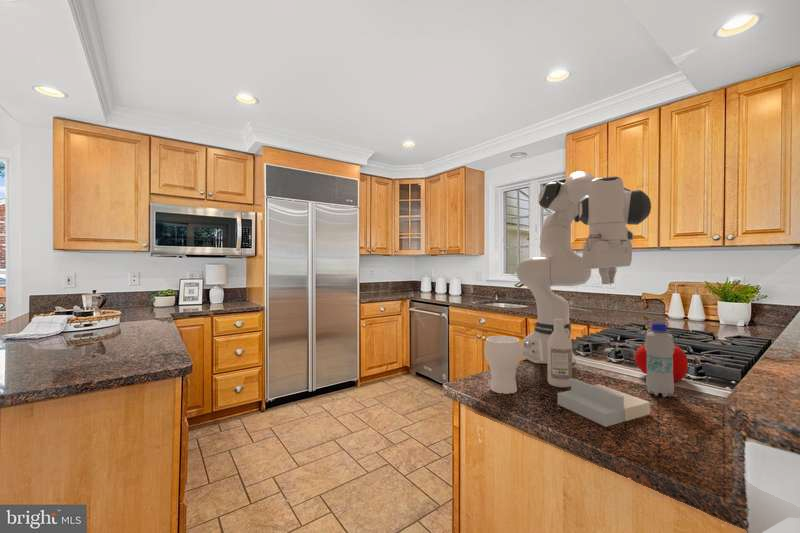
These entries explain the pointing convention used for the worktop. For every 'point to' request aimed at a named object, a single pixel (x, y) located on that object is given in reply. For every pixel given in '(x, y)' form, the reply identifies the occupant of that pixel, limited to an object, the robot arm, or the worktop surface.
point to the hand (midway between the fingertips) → (607, 283)
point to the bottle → (659, 361)
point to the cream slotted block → (631, 404)
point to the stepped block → (593, 403)
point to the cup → (503, 362)
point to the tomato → (678, 362)
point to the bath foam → (559, 356)
